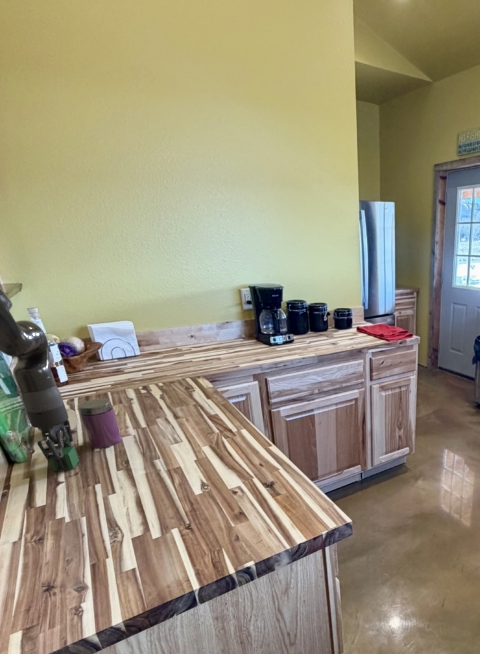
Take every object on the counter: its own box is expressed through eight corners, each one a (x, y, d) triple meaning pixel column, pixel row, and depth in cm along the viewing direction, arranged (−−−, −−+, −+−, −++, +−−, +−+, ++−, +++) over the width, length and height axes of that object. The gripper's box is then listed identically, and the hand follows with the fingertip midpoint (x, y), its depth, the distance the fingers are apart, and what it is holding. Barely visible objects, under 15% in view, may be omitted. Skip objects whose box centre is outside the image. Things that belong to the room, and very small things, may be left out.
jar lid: (76, 416, 113) (74, 409, 112) (85, 406, 120) (83, 400, 119) (108, 413, 116) (106, 406, 115) (114, 403, 122) (112, 397, 121)
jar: (86, 450, 117) (73, 412, 112) (94, 437, 124) (83, 402, 119) (118, 445, 120) (107, 408, 115) (124, 434, 126) (114, 399, 122)
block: (53, 471, 106) (47, 456, 104) (59, 463, 110) (54, 448, 108) (73, 468, 107) (68, 453, 106) (79, 460, 111) (74, 445, 110)
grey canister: (69, 435, 125) (61, 411, 122) (39, 437, 124) (31, 413, 121) (87, 421, 135) (80, 399, 132) (60, 423, 134) (52, 400, 131)
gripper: (38, 396, 107) (59, 455, 114) (12, 418, 94) (38, 482, 101) (72, 393, 109) (91, 450, 116) (51, 413, 97) (74, 476, 104)
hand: (66, 465), depth 109 cm, fingers closed on block, 4 cm apart
